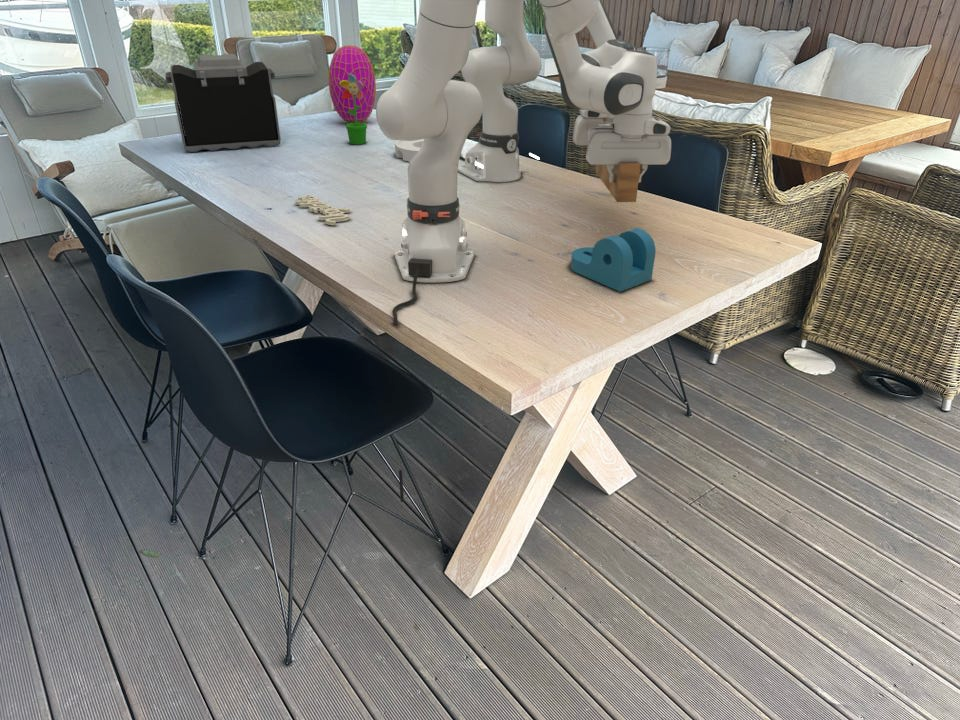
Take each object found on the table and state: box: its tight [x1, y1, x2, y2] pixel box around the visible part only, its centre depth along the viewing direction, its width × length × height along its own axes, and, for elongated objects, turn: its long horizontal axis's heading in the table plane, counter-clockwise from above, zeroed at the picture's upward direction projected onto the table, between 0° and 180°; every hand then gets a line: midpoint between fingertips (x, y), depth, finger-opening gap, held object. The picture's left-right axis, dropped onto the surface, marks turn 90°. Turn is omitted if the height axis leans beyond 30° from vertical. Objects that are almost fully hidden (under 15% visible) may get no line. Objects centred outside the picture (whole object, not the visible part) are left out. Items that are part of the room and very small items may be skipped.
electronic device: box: [164, 53, 282, 153], centre depth 252 cm, size 37×22×30 cm, turn 111°
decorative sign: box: [295, 194, 351, 226], centre depth 192 cm, size 26×1×10 cm
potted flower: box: [339, 73, 368, 145], centre depth 255 cm, size 9×8×25 cm
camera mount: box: [570, 227, 656, 293], centre depth 154 cm, size 18×10×10 cm, turn 39°
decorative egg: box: [328, 44, 377, 124], centre depth 286 cm, size 19×19×30 cm
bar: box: [595, 162, 641, 203], centre depth 178 cm, size 27×5×9 cm, turn 3°
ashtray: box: [394, 139, 424, 163], centre depth 246 cm, size 23×23×4 cm
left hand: (624, 182), depth 170 cm, fingers closed on bar, 5 cm apart
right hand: (608, 161), depth 187 cm, fingers closed on bar, 5 cm apart
